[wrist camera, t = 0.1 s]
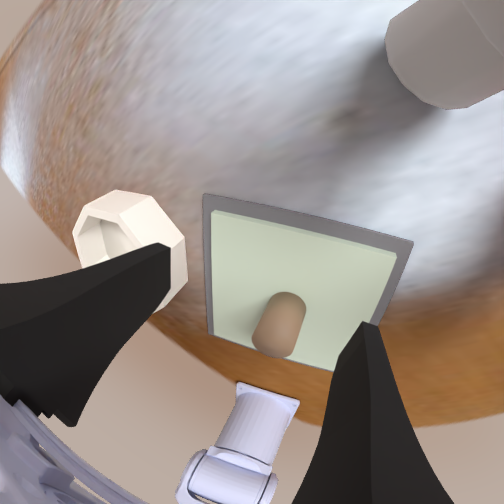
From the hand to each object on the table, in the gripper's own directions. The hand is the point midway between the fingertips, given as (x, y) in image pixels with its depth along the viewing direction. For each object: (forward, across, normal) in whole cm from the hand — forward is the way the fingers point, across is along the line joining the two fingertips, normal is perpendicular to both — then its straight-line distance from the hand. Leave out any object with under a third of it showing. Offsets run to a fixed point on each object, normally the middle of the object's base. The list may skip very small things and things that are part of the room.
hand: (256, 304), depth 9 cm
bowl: (+10, +14, +9) cm, 19 cm away
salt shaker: (+10, -5, -12) cm, 16 cm away
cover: (+10, -1, +8) cm, 13 cm away
